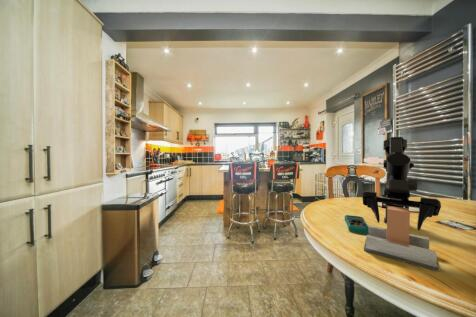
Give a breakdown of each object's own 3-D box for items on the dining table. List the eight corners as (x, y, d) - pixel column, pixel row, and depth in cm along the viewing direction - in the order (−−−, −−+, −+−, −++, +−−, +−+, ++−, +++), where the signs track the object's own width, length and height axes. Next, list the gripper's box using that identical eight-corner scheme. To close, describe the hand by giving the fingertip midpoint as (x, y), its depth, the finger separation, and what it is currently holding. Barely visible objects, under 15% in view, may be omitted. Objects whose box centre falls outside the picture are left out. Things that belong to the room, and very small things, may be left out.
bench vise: (368, 230, 72) (368, 219, 72) (425, 242, 62) (426, 229, 62) (363, 250, 57) (364, 236, 57) (439, 271, 47) (439, 254, 46)
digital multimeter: (348, 232, 71) (349, 225, 70) (344, 220, 84) (344, 213, 84) (371, 236, 67) (371, 228, 67) (363, 222, 81) (363, 216, 81)
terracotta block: (386, 242, 60) (387, 205, 59) (407, 247, 57) (408, 208, 56) (386, 248, 56) (387, 209, 56) (408, 254, 53) (409, 212, 52)
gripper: (363, 168, 65) (359, 205, 56) (440, 172, 53) (449, 219, 44) (364, 187, 71) (361, 223, 63) (434, 194, 59) (441, 239, 51)
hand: (397, 225), depth 55 cm, fingers open, 9 cm apart
